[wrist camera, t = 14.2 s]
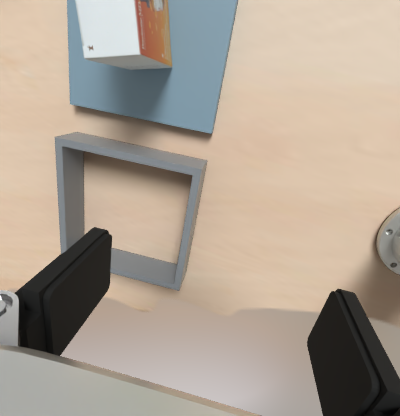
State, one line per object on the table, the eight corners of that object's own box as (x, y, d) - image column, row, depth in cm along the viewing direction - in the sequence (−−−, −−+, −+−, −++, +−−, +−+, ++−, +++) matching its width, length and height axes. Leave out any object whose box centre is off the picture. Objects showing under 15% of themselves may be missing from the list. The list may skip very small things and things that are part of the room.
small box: (173, 68, 33) (141, 58, 23) (130, 70, 34) (82, 61, 24) (168, -13, 29) (129, -64, 20) (121, -8, 30) (62, -55, 21)
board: (249, -61, 28) (249, -69, 27) (212, 132, 36) (211, 133, 35) (72, -86, 30) (64, -95, 28) (76, 103, 38) (70, 104, 37)
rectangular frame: (207, 160, 38) (201, 169, 33) (186, 271, 46) (179, 290, 42) (77, 132, 40) (54, 136, 35) (79, 244, 48) (61, 259, 43)
